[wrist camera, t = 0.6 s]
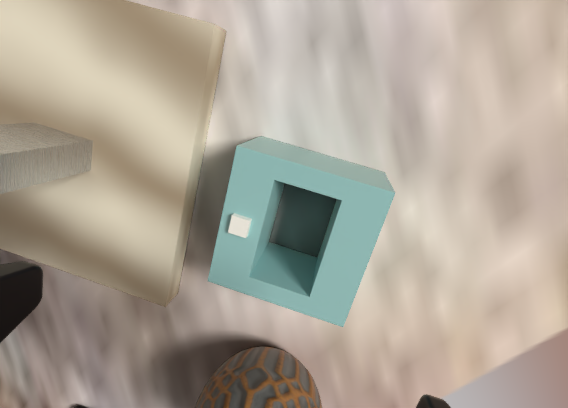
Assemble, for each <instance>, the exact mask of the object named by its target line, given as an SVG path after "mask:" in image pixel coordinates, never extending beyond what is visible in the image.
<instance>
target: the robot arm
mask: <svg viewBox="0 0 568 408" xmlns="http://www.w3.org/2000/svg"><path fill="white" fill-rule="evenodd" d="M42 288H43V271H42V269H41V267H39V266H38V265H35V264H32V263H29V262H25V261H21V262H14V263H8V264H2V265H0V343H1V342H2V341H3V340H4V339H5V338H6V337H7V336H8V335H9V334H10V333H11V332H12V331H13V330H14V329H15V328H16V327H17V326H18V325H19V324H20V323H21V322H22V321H23V320H24V319H25V318H26V317H27V316H28V315H29V314H30V313H31V312H32V311H33V310H34V309H35V308H36V307H37V306H38V304H39V303H40V301H41V298H42ZM74 408H82V407H80V406H75V407H74ZM416 408H450V406H449V405H448V404H447V403H446V402H445V401H444V400H442V399H440V398H437V397H434V396H431V395H427V394H426V395H423V396H422V397H421V399H420V401H419V403H418V405H417V407H416Z"/></svg>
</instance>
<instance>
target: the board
mask: <svg viewBox="0 0 568 408" xmlns="http://www.w3.org/2000/svg"><path fill="white" fill-rule="evenodd" d="M225 36H226V31H225V30H224V29H222V28H220V27H219V26H217V25H215V24H212V23H208V22H205V21H201V20H197V19H193V18H190V17H186V16H182V15H178V14H175V13H171V12H167V11H163V10H160V9H156V8H152V7H148V6H145V5H141V4H137V3H133V2H129V1H126V0H0V125H1V124H17V123H33V122H34V123H38V124H41V125H44V126H47V127H51V128H54V129H57V130H60V131H63V132H67V133H70V134H73V135H76V136H80V137H83V138H86V139H89V140H92V141H93V148H92V161H91V170H90V171H86V172H83V173H79V174H75V175H71V176H67V177H64V178H60V179H56V180H52V181H48V182H45V183H41V184H37V185H33V186H29V187H26V188H22V189H18V190H14V191H10V192H7V193H3V194H0V249H2V250H5V251H8V252H11V253H14V254H16V255H19V256H22V257H25V258H28V259H31V260H33V261H36V262H39V263H42V264H45V265H48V266H50V267H53V268H56V269H59V270H62V271H65V272H68V273H70V274H73V275H76V276H79V277H82V278H85V279H87V280H90V281H93V282H96V283H99V284H102V285H104V286H107V287H110V288H113V289H116V290H119V291H122V292H124V293H127V294H130V295H133V296H136V297H139V298H141V299H144V300H147V301H150V302H153V303H156V304H158V305H161V306H164V307H166V306H167V305H168V304H169V303H170V301H171V300H172V299H173V298H174V297H175V296H176V295H177V294H178V290H179V285H180V279H181V274H182V268H183V263H184V258H185V252H186V247H187V241H188V236H189V231H190V225H191V220H192V214H193V209H194V203H195V198H196V193H197V187H198V182H199V176H200V171H201V166H202V160H203V155H204V149H205V144H206V139H207V133H208V128H209V122H210V117H211V111H212V106H213V101H214V95H215V90H216V84H217V79H218V74H219V68H220V63H221V57H222V52H223V46H224V41H225Z"/></svg>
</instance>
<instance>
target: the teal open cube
mask: <svg viewBox="0 0 568 408" xmlns="http://www.w3.org/2000/svg"><path fill="white" fill-rule="evenodd" d="M285 183H286V184H290V185H293V186H296V187H300V188H303V189H306V190H309V191H313V192H316V193H319V194H322V195H326V196H329V197H332V198H336V199H337V200H336V203H335V206H334V209H333V212H332V215H331V218H330V221H329V224H328V227H327V230H326V233H325V236H324V239H323V242H322V245H321V248H320V251H319V254H318V257H314V256H311V255H308V254H305V253H302V252H298V251H295V250H292V249H289V248H286V247H283V246H280V245H277V244H274V243H271V242H269V240H270V236H271V232H272V229H273V225H274V221H275V218H276V214H277V210H278V207H279V203H280V199H281V196H282V192H283V188H284V185H285ZM394 195H395V191H394V189H393V187H392V186H391V184H390V182H389V180H388V178H387V176H386V174H385V172H382V171H378V170H375V169H372V168H368V167H365V166H361V165H358V164H355V163H351V162H348V161H344V160H341V159H338V158H334V157H331V156H327V155H324V154H321V153H317V152H314V151H310V150H307V149H304V148H300V147H297V146H293V145H290V144H287V143H283V142H280V141H276V140H273V139H270V138H266V137H263V136H260V137H257V138H255V139H252V140H250V141H247V142H244V143H242V144H239V145H237V147H236V152H235V156H234V161H233V166H232V170H231V175H230V180H229V184H228V189H227V193H226V198H225V203H224V207H223V212H222V217H221V221H220V226H219V231H218V235H217V240H216V244H215V249H214V254H213V258H212V263H211V268H210V272H209V277H208V281H209V282H212V283H215V284H218V285H221V286H224V287H226V288H229V289H232V290H235V291H238V292H241V293H244V294H247V295H250V296H253V297H256V298H259V299H262V300H265V301H268V302H271V303H274V304H276V305H279V306H282V307H285V308H288V309H291V310H294V311H297V312H300V313H303V314H306V315H309V316H312V317H315V318H318V319H321V320H323V321H326V322H329V323H332V324H335V325H338V326H341V327H343V326H344V323H345V321H346V318H347V316H348V313H349V311H350V308H351V305H352V303H353V300H354V298H355V295H356V293H357V290H358V287H359V285H360V282H361V280H362V277H363V275H364V272H365V269H366V267H367V264H368V262H369V259H370V257H371V254H372V251H373V249H374V246H375V244H376V241H377V238H378V236H379V233H380V231H381V228H382V226H383V223H384V220H385V218H386V215H387V213H388V210H389V208H390V205H391V202H392V200H393V197H394Z"/></svg>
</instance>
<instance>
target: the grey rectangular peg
mask: <svg viewBox="0 0 568 408" xmlns="http://www.w3.org/2000/svg"><path fill="white" fill-rule="evenodd" d="M92 148H93V141H92V140H89V139H86V138H83V137H80V136H76V135H73V134H70V133H67V132H63V131H60V130H57V129H54V128H51V127H47V126H44V125H41V124H38V123H34V122H33V123H17V124H1V125H0V194H3V193H7V192H10V191H14V190H18V189H22V188H26V187H29V186H33V185H37V184H41V183H45V182H48V181H52V180H56V179H60V178H64V177H67V176H71V175H75V174H79V173H83V172H86V171H90V170H91V161H92Z"/></svg>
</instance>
